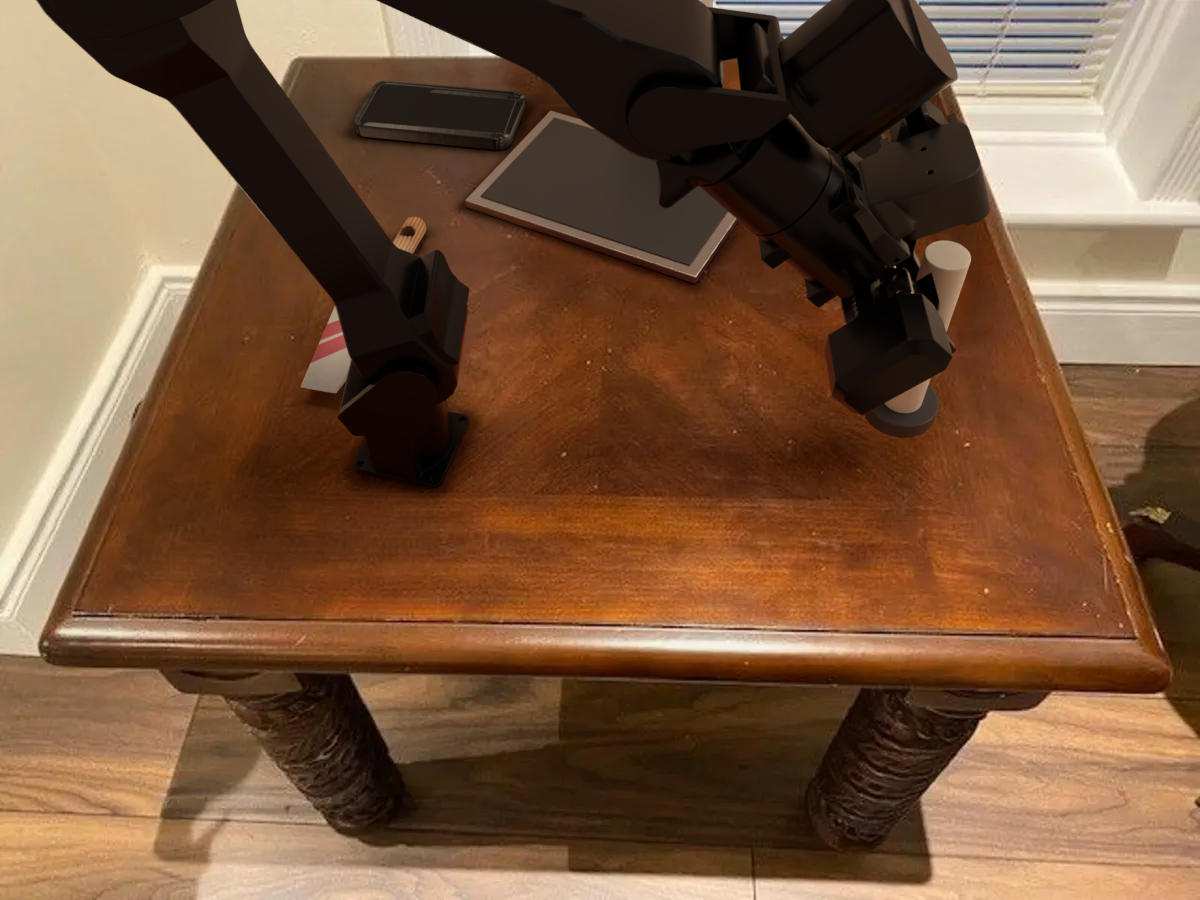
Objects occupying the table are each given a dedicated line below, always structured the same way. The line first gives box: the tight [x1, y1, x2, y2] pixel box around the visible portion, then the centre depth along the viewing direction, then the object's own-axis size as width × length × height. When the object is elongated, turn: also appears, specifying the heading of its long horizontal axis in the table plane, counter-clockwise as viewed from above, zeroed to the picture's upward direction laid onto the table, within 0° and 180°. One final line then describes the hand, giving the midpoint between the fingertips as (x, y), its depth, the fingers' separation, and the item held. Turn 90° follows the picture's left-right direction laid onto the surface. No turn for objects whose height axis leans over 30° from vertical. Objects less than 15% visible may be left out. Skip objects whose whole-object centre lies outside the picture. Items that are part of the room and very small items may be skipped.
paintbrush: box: [300, 216, 427, 394], centre depth 81 cm, size 4×3×20 cm
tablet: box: [464, 110, 739, 285], centre depth 90 cm, size 22×15×1 cm
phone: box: [354, 79, 526, 151], centre depth 98 cm, size 8×1×15 cm
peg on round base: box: [863, 240, 972, 439], centre depth 64 cm, size 5×5×14 cm
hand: (944, 336), depth 64 cm, fingers closed on peg on round base, 2 cm apart
